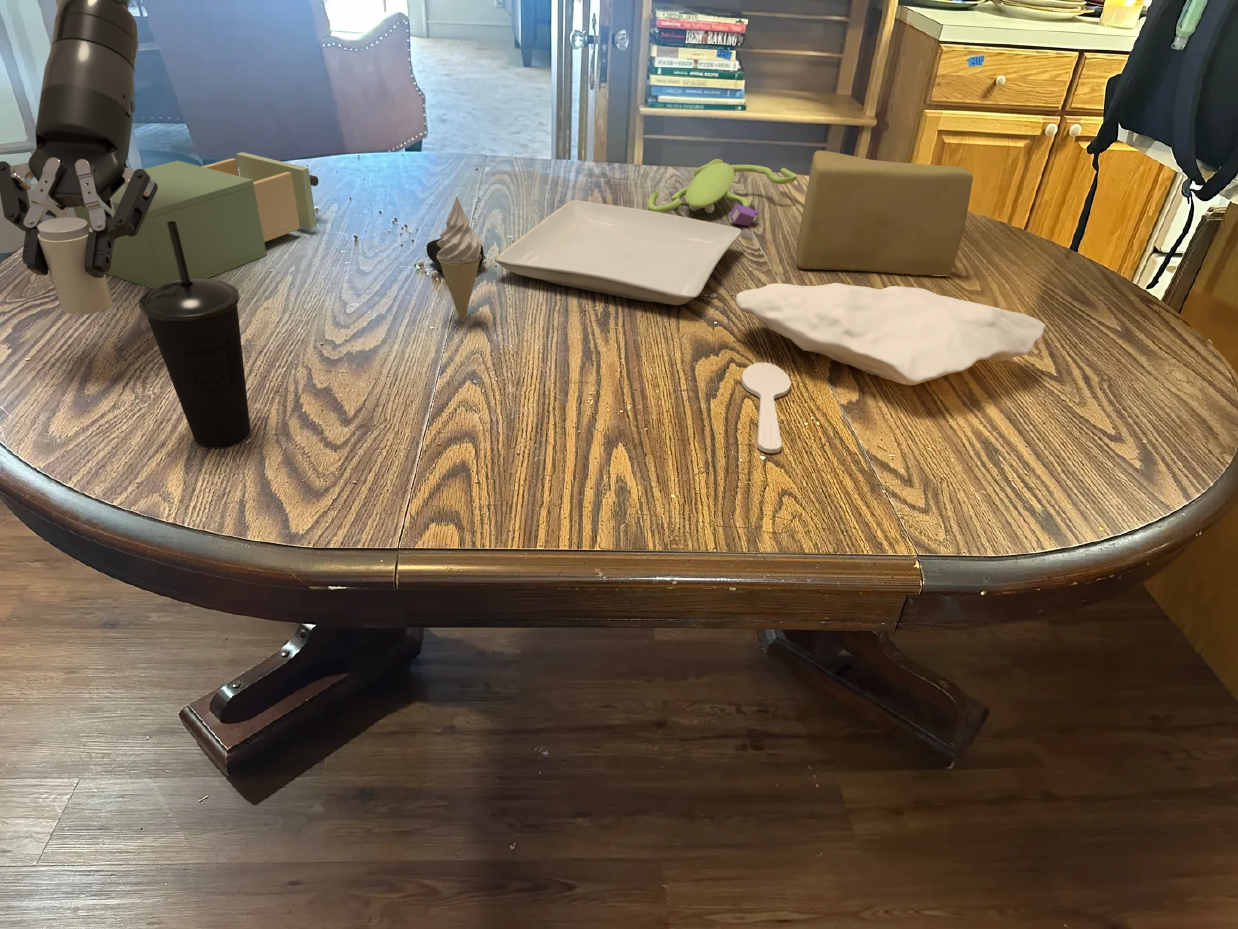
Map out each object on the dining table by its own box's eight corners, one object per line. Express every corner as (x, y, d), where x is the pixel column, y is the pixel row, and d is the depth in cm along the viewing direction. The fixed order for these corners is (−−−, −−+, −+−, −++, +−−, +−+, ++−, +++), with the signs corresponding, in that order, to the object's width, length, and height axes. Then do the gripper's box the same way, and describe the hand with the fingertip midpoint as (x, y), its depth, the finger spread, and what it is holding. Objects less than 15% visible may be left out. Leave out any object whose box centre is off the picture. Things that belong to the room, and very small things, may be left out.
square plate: (570, 220, 133) (570, 195, 131) (740, 251, 126) (744, 225, 124) (492, 282, 112) (491, 253, 109) (692, 323, 105) (696, 293, 103)
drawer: (274, 202, 129) (264, 145, 124) (337, 219, 125) (330, 161, 120) (169, 237, 115) (154, 175, 110) (237, 257, 111) (224, 193, 106)
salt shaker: (51, 307, 82) (23, 225, 77) (93, 291, 85) (68, 212, 80) (82, 318, 80) (55, 236, 76) (123, 302, 84) (100, 222, 79)
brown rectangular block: (944, 264, 127) (974, 161, 119) (954, 289, 119) (987, 181, 111) (795, 247, 129) (814, 144, 121) (795, 270, 121) (816, 163, 113)
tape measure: (425, 263, 116) (423, 236, 113) (474, 257, 118) (473, 230, 116) (441, 282, 111) (439, 254, 109) (491, 275, 113) (490, 248, 111)
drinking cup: (259, 406, 83) (216, 203, 72) (273, 446, 78) (230, 233, 67) (173, 422, 80) (114, 212, 69) (182, 464, 75) (120, 244, 63)
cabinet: (194, 234, 119) (177, 160, 113) (266, 255, 114) (253, 179, 109) (92, 268, 107) (67, 188, 102) (168, 294, 103) (146, 211, 97)
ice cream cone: (451, 333, 99) (444, 205, 90) (434, 316, 102) (425, 191, 94) (491, 325, 101) (487, 199, 93) (472, 309, 104) (467, 186, 96)
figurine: (802, 197, 150) (808, 165, 147) (740, 238, 131) (745, 202, 128) (708, 176, 157) (711, 145, 154) (636, 212, 138) (639, 177, 135)
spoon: (741, 449, 82) (742, 445, 82) (741, 363, 97) (741, 359, 96) (797, 456, 82) (798, 451, 81) (788, 368, 96) (789, 364, 96)
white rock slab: (1069, 425, 87) (1099, 340, 83) (728, 382, 90) (741, 297, 86) (1003, 354, 108) (1025, 283, 104) (729, 321, 111) (739, 250, 107)
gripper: (-16, 75, 77) (-44, 252, 74) (147, 85, 79) (126, 260, 76) (32, 122, 85) (9, 285, 82) (181, 131, 86) (163, 292, 83)
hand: (65, 272), depth 79 cm, fingers closed on salt shaker, 4 cm apart
